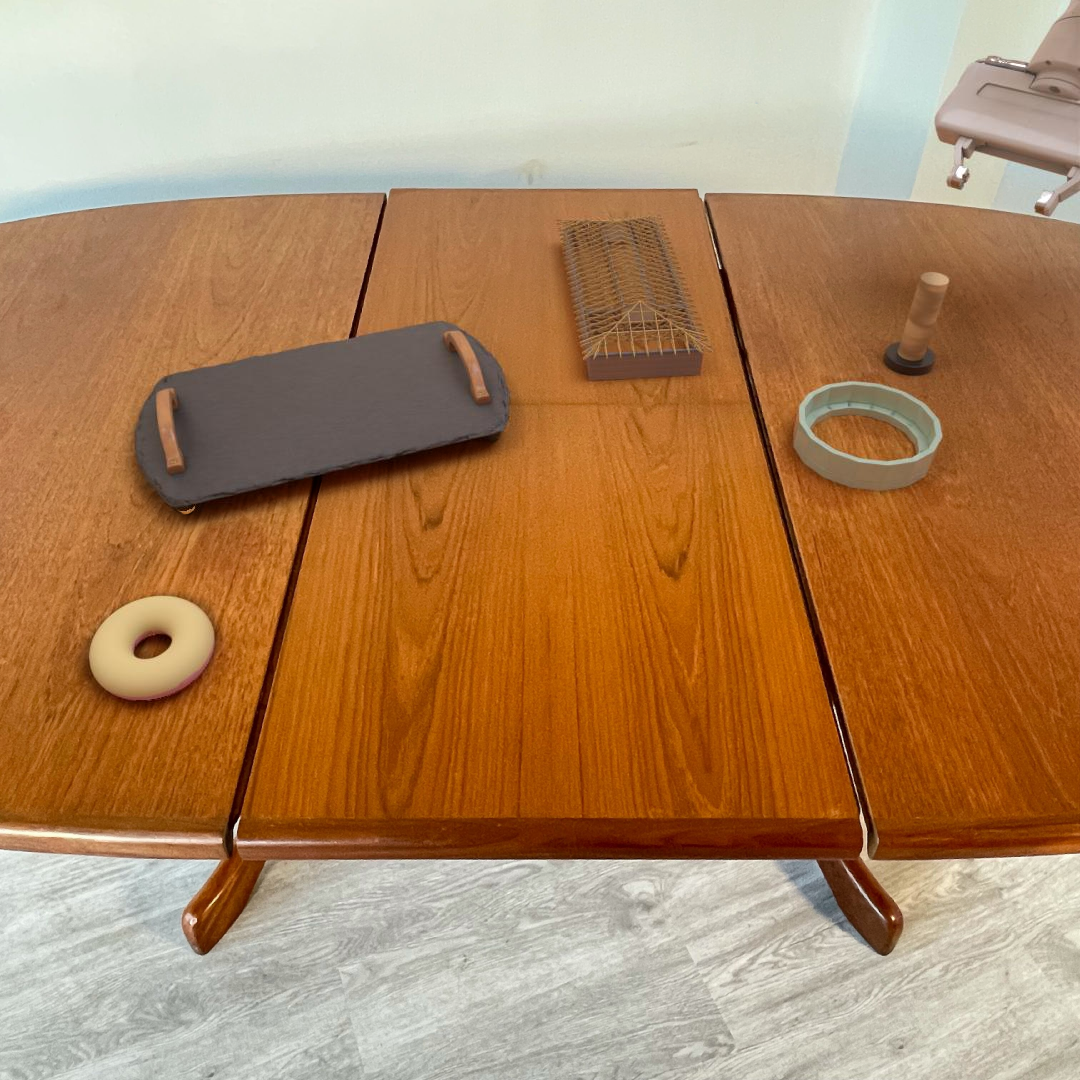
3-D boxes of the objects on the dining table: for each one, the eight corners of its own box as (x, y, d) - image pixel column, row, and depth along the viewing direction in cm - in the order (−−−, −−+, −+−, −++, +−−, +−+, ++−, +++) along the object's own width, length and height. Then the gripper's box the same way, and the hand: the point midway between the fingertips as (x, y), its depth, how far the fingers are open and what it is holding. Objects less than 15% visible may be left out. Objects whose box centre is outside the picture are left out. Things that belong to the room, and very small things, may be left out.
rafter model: (709, 378, 99) (716, 330, 95) (582, 385, 98) (583, 337, 94) (658, 238, 124) (661, 195, 120) (556, 243, 123) (556, 200, 119)
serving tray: (146, 536, 82) (123, 486, 78) (139, 401, 98) (119, 353, 93) (535, 443, 91) (534, 394, 87) (472, 333, 107) (468, 286, 102)
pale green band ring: (919, 428, 92) (933, 388, 88) (933, 512, 82) (950, 471, 79) (789, 415, 94) (798, 375, 90) (789, 496, 85) (799, 455, 81)
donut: (197, 618, 78) (84, 657, 73) (186, 575, 75) (68, 612, 71) (236, 679, 71) (114, 727, 66) (226, 634, 68) (98, 680, 64)
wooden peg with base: (924, 366, 100) (958, 268, 91) (930, 392, 96) (965, 292, 88) (877, 362, 101) (906, 264, 92) (880, 388, 97) (910, 288, 89)
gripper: (973, 33, 91) (899, 156, 94) (1184, 76, 81) (1096, 213, 83) (979, 70, 97) (909, 185, 99) (1178, 115, 86) (1095, 242, 88)
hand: (996, 198), depth 91 cm, fingers open, 8 cm apart
